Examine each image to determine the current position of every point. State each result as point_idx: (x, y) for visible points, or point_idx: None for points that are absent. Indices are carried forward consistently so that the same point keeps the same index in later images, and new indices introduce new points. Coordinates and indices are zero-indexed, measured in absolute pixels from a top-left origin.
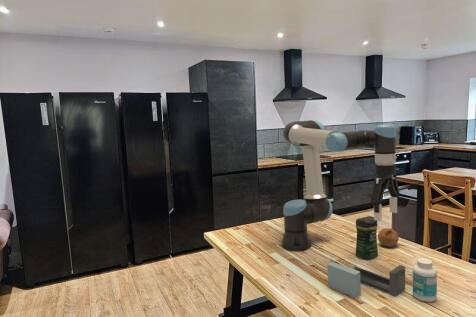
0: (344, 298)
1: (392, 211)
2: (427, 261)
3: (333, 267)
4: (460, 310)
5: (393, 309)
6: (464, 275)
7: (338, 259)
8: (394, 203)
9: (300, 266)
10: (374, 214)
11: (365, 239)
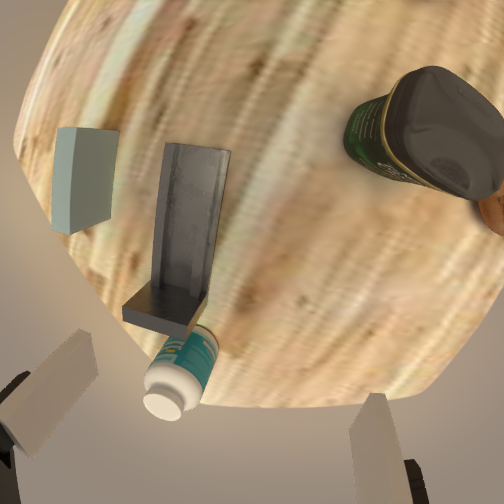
0: None
1: (362, 416)
2: (162, 412)
3: (57, 152)
4: None
5: (107, 295)
6: (357, 395)
7: (289, 62)
8: (362, 490)
9: (166, 6)
10: (54, 356)
11: (370, 142)
